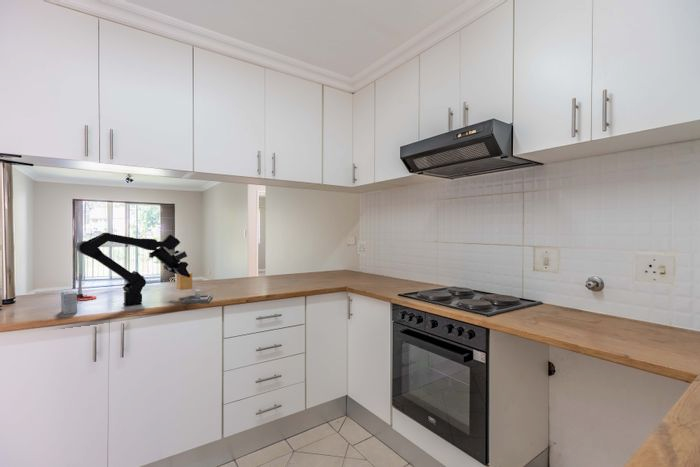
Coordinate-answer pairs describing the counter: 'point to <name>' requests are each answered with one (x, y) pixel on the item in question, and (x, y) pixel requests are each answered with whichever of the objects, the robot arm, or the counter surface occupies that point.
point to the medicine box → (69, 302)
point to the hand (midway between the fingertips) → (187, 276)
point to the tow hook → (80, 295)
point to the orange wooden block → (184, 282)
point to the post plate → (197, 298)
